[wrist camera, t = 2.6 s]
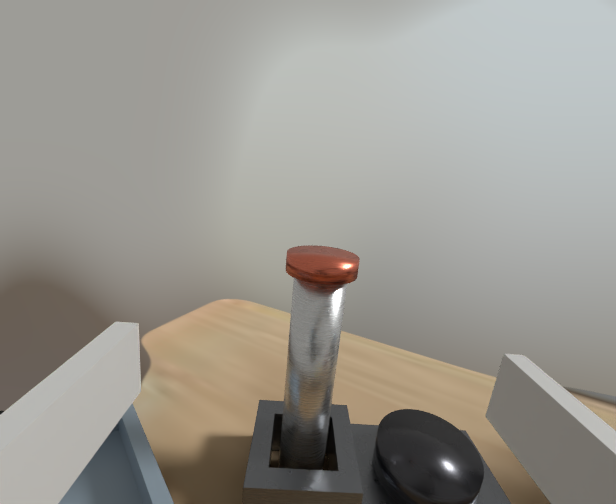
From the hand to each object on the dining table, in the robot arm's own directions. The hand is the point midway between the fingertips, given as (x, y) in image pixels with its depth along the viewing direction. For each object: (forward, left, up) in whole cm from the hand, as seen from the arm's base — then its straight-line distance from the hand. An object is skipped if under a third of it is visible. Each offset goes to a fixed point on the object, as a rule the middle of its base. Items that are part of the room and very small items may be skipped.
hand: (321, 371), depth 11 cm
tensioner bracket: (-11, -4, -18) cm, 21 cm away
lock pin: (-7, -7, -18) cm, 20 cm away
